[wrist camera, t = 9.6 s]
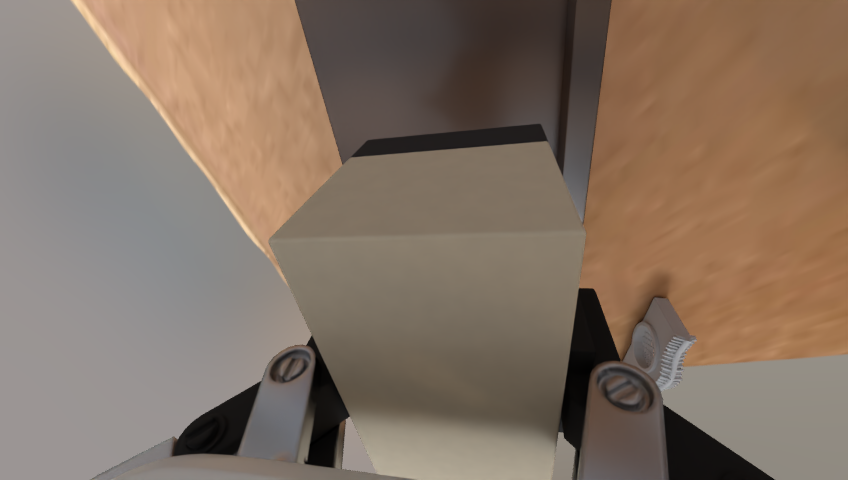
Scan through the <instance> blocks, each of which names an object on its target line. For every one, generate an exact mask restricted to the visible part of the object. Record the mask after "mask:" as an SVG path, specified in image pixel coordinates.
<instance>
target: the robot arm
mask: <svg viewBox="0 0 848 480" xmlns="http://www.w3.org/2000/svg"><path fill="white" fill-rule="evenodd" d="M348 417H350V415H349V413H348V411H347V409H346V407H345V404H344V402H343V400H342V398H341V396H340V394H339V392H338V390H337V387H336V385H335V383H334V381H333V379H332V377H331V375H330V372H329V370H328V368H327V366H326V364H325V362H324V360H323V358H322V355H321V353H320V351H319V349H318V347H317V345H316V343H315V340H314V338H313V336H311V338H310V340H309V341H308V343H307V345H306V346H305V345H295V346H292V347H288V348H286V349H284V350H282V351H281V352H279V353H278V354H277V355H276V356H274V357H273V359H272V360H271V361H270V362H269V364H268V365H267V368H266V370H265V372H264V375H263V378H262V381H260V382H259V383H257V384H255V385H253V386H252V387H250V388H248V389H247V390H245V391H243V392H241V393H240V394H238V395H236V396H234V397H233V398H231V399H229V400H227V401H226V402H224V403H222V404H220V405H219V406H217V407H215V408H214V409H212V410H210V411H208V412H207V413H205V414H203V415H201V416H200V417H199V418H197V419H196V420H194V421H193V422H192V423H191V424H190V425H189V426H188V427H187V428H186V429H185V430H184V432H183V433H182V434H181V436H180V437H179V439H176V438H175V437H172V438H170V439H168V440H166V441H164V442H162V443H160V444H158V445H156V446H154V447H152V448H150V449H148V450H146V451H144V452H142V453H140V454H138V455H136V456H134V457H132V458H130V459H129V460H126V461H124V462H122V463H120V464H119V465H117V466H115V467H113V468H111V469H109V470H107V471H105V472H103V473H101V474H99V475H97V476H96V477H94V478H92V479H91V480H416V479H409V478H402V477H395V476H388V475H380V474H373V473H366V472H358V471H351V470H344V469H342V460H343V448H344V436H345V424H346V420H345V419H347V418H348ZM559 432H563V433H564V438H565V439H566V440H567V441H568V442H569V443H570V444H571V445H573V447H575V456H574V465H573V473H572V480H774V479H773V478H772V477H770V476H769V475H767V474H766V473H764V472H763V471H761V470H760V469H758V468H757V467H755V466H754V465H752V464H751V463H749V462H748V461H746V460H745V459H743V458H742V457H741V456H739V455H738V454H736V453H734V452H733V451H732V450H730V449H729V448H727V447H726V446H724V445H723V444H721V443H719V442H718V441H717V440H715V439H714V438H712V437H711V436H709V435H708V434H706V433H705V432H703V431H702V430H700V429H699V428H697V427H696V426H695V425H693V424H692V423H690V422H688V421H687V420H686V419H684V418H683V417H681V416H680V415H678V414H676V413H675V412H674V411H672V410H671V409H669V408H668V407H666V406H664V405H663V398H662V395H661V391H660V389H659V387H658V385H657V384H656V382H655V381H654V380H653V379H652V378H651V377H650V376H649V375H648V374H647V373H646V372H644V371H643V370H641V369H639V368H638V367H636V366H633V365H631V364H628V363H625V362H621V361H620V358H619V355H618V352H617V350H616V347H615V344H614V341H613V338H612V336H611V333H610V330H609V327H608V325H607V322H606V319H605V316H604V314H603V311H602V308H601V305H600V302H599V300H598V297H597V294H596V292H595V290H594V289H592V288H579V290H578V297H577V304H576V311H575V318H574V325H573V332H572V340H571V347H570V354H569V361H568V368H567V375H566V382H565V389H564V396H563V403H562V410H561V417H560V425H559Z"/></svg>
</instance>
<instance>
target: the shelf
mask: <svg viewBox="0 0 848 480" xmlns="http://www.w3.org/2000/svg"><path fill="white" fill-rule="evenodd" d="M611 1H612V0H295V3H296V6H297V10H298V13H299V17H300V20H301V24H302V27H303V30H304V34H305V37H306V41H307V44H308V48H309V51H310V54H311V58H312V61H313V65H314V68H315V72H316V75H317V79H318V82H319V85H320V89H321V92H322V96H323V99H324V103H325V106H326V109H327V113H328V116H329V120H330V123H331V127H332V130H333V133H334V137H335V140H336V144H337V147H338V151H339V154H340V157H341V161H342V164H344V163H345V162H346V161H347V160H348V159H349V158H351V156H352V155H353V154H354V153H355V152H356V151H357V150H358V149H359V148H360V147H361V146H362V145H363V144H364V143H365V142H366V141H367V140H372V139H383V138H393V137H404V136H414V135H425V134H435V133H446V132H456V131H467V130H477V129H488V128H498V127H509V126H520V125H530V124H541V125H542V128H543V130H544V132H545V135H546V137H547V140H548V143H549V145H550V147H551V150H552V152H553V154H554V157H555V159H556V162H557V164H558V166H559V169H560V171H561V174H562V176H563V178H564V181H565V183H566V185H567V188H568V190H569V193H570V195H571V197H572V200H573V202H574V205H575V207H576V209H577V212H578V214H579V216H580V219H581V221H582V224H583V223H584V215H585V207H586V200H587V192H588V184H589V176H590V168H591V160H592V152H593V144H594V136H595V128H596V120H597V112H598V104H599V96H600V88H601V80H602V72H603V64H604V57H605V49H606V41H607V33H608V25H609V17H610V9H611Z"/></svg>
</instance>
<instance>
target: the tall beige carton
mask: <svg viewBox="0 0 848 480" xmlns="http://www.w3.org/2000/svg"><path fill="white" fill-rule="evenodd" d="M585 240H586V231H585V228H584V226H583V224H582V221H581V219H580V216H579V214H578V212H577V209H576V207H575V205H574V202H573V200H572V197H571V195H570V193H569V190H568V188H567V185H566V183H565V181H564V178H563V176H562V174H561V171H560V169H559V166H558V164H557V162H556V159H555V157H554V154H553V152H552V150H551V147H550V145H549V143H548V140H547V137H546V135H545V132H544V130H543V128H542V125H541V124H530V125H520V126H509V127H498V128H488V129H477V130H467V131H456V132H446V133H435V134H425V135H414V136H404V137H393V138H383V139H372V140H367V141H366V142H365V143H364V144H363V145H362V146H361V147H360V148H359V149H358V150H357V151H356V152H355V153H354V154H353V155H352V156H351V158H349V159H348V160H347V161H346V162H345V163H344V164H343V165H342V166H341V167H340V168H339V169H338V170H337V171H336V172H335V173H334V174H333V175H332V176H331V177H330V178H329V179H328V180H327V181H326V182H325V183H324V184H323V185H322V186H321V187H320V188H319V189H318V190H317V191H316V192H315V193H314V194H313V195H312V196H311V197H310V198H309V199H308V200H307V201H306V202H305V203H304V204H303V205H302V206H301V207H300V208H299V209H298V210H297V211H296V212H295V213H294V214H293V215H292V216H291V217H290V219H289V220H288V221H287V222H286V223H285V224H284V225H283V226H282V227H281V228H280V229H279V230H278V231H277V232H276V233H275V234H274V235H273V236H272V237H271V238H270V239H269V245H270V247H271V249H272V251H273V253H274V255H275V257H276V260H277V262H278V264H279V266H280V268H281V270H282V272H283V274H284V277H285V279H286V281H287V283H288V285H289V287H290V289H291V291H292V293H293V296H294V298H295V300H296V302H297V304H298V306H299V308H300V311H301V313H302V315H303V317H304V319H305V321H306V323H307V326H308V328H309V330H310V332H311V334H312V336H313V338H314V340H315V343H316V345H317V347H318V349H319V351H320V353H321V355H322V358H323V360H324V362H325V364H326V366H327V368H328V370H329V372H330V375H331V377H332V379H333V381H334V383H335V385H336V387H337V390H338V392H339V394H340V396H341V398H342V400H343V402H344V404H345V407H346V409H347V411H348V413H349V415H350V417H351V419H352V421H353V424H354V426H355V428H356V430H357V432H358V434H359V436H360V439H361V441H362V443H363V445H364V447H365V449H366V451H367V453H368V456H369V458H370V460H371V462H372V464H373V466H374V468H375V470H376V473H377V474H380V475H388V476H395V477H402V478H409V479H416V480H552V474H553V467H554V460H555V452H556V446H557V438H558V432H559V425H560V417H561V410H562V403H563V396H564V389H565V382H566V375H567V368H568V361H569V354H570V347H571V340H572V332H573V325H574V318H575V311H576V304H577V297H578V290H579V283H580V276H581V269H582V262H583V255H584V247H585Z"/></svg>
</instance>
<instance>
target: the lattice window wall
mask: <svg viewBox="0 0 848 480" xmlns="http://www.w3.org/2000/svg"><path fill="white" fill-rule="evenodd" d="M694 341H697V339H696V337H695V336H692V335H689V333H688V331H687V330H686V328H685V326H684V325H683V323H682V321H681V320H680V318H679V316H678V315H677V313H676V311H675V310H674V308H673V306H672V305H671V303H670V302H669V300H668V299H665V298H654V299H653V301H652V303H651V305H650V307H649V309H648V311H647V313H646V315H645V317H644V319H643V321H642V322H640V323H638V324H637V325H636V327H635V329H634V331H633V335H632V344H631V346H630V348H629V350H628V352H627V354H626V356H625V358H624V360H623V362H625V363H628V364H631V365H633V366H636V367H638V368H639V369H641V370H643V371H644V372H646V373H647V374H648V375H649V376H650V377H651V378H652V379H653V380H654V381H655V382H656V384H657V385H658V387H659V389H660V391H661V392H662V390H665V389H670V388H673V387H675V386H677V383H680V381H679V380H682V378H681V376H682V374H681V371H684V370H683V369H681V367H683V365H682V363H684V361H683V359H685V357H684V355H686V353H685V351H688V349H689V348H690V346H692V344H694ZM653 351H654V352H653ZM653 354H654V356H653Z"/></svg>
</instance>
